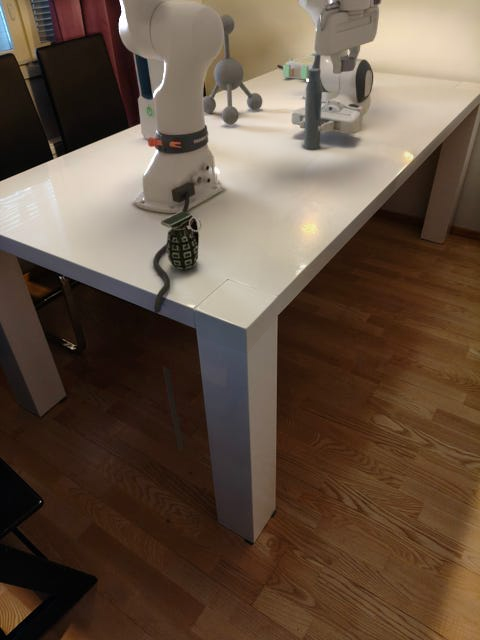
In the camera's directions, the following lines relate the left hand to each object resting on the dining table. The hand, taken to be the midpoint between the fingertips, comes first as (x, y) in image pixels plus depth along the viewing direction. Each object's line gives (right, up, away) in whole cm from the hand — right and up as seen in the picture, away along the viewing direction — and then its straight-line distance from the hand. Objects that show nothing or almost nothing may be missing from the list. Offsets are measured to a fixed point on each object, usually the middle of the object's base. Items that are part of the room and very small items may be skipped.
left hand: (344, 70), depth 112 cm
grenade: (-34, -47, -20) cm, 62 cm away
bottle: (-3, -7, +28) cm, 29 cm away
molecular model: (-25, +14, +58) cm, 64 cm away
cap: (0, +2, -1) cm, 2 cm away
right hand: (-4, -3, +24) cm, 25 cm away
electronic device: (-48, 0, +41) cm, 63 cm away
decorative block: (+7, +50, +101) cm, 113 cm away
